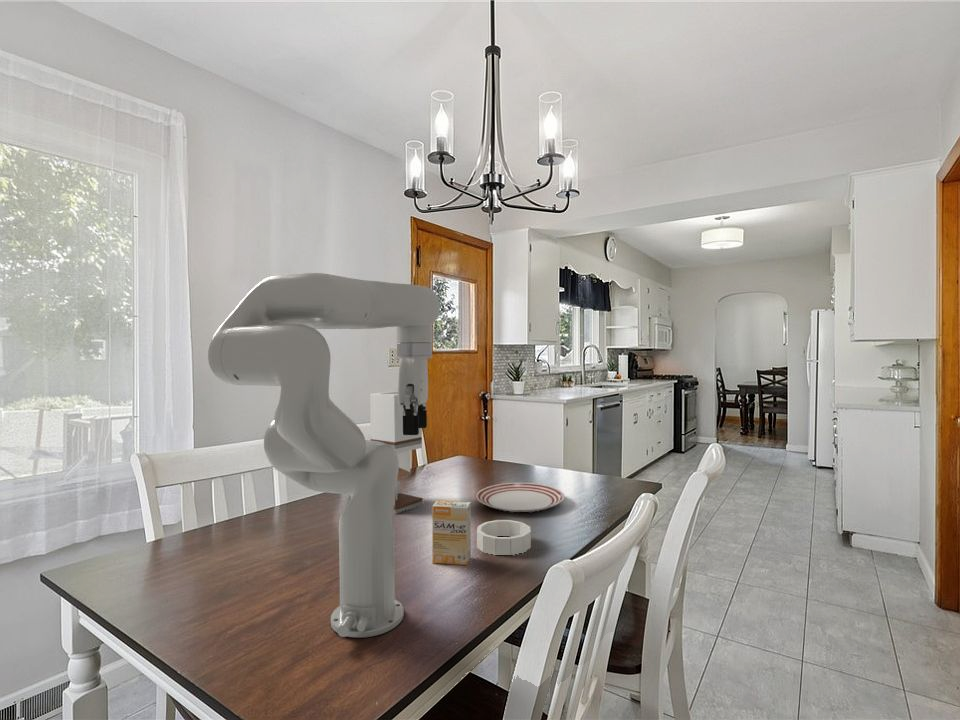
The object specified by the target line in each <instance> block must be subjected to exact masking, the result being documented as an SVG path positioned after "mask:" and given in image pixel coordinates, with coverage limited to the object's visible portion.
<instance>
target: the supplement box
mask: <svg viewBox="0 0 960 720" xmlns="http://www.w3.org/2000/svg"><path fill="white" fill-rule="evenodd" d="M471 506H472V502H471V501H451V500H450V501H448V500H439V499H437V500H436V501H435V502H434V503H433V505H432V506H431V507H432V515H431V516H432V517H431V518H432V520H431V522H432V523H431V525H432V526H431V528H432V529H431V530H432V540H431V541H432V542H431V543H432V544H431V545H432V547H431V549H432V550H431V551H432V554H431V555H432V560H431V562H432V564H440V565H463V566H468V565H469V562H470V560H471V556H472V555H471V552H472V551H471V548H472V546H471V545H472V544H471V543H472V541H471V540H472V539H471V538H472V529H471V527H472V518H471V516H472V513H471V511H472V507H471Z"/></svg>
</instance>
